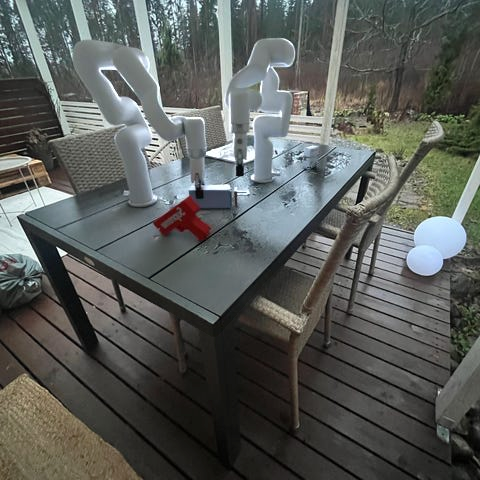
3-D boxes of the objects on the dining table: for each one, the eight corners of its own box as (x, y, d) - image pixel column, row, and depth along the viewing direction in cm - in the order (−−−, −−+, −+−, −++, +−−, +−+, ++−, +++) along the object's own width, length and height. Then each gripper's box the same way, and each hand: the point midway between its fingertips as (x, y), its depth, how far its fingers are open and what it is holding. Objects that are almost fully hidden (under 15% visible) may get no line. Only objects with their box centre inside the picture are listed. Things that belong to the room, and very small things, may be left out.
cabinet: (230, 203, 121) (229, 184, 116) (230, 209, 116) (229, 189, 111) (192, 204, 121) (190, 184, 116) (190, 209, 116) (188, 190, 111)
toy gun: (217, 229, 94) (190, 194, 90) (212, 235, 91) (184, 199, 87) (184, 248, 104) (159, 217, 100) (179, 254, 101) (152, 223, 97)
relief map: (243, 164, 168) (243, 156, 165) (202, 155, 186) (201, 147, 183) (266, 154, 186) (267, 146, 183) (227, 147, 204) (226, 140, 201)
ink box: (309, 164, 167) (312, 144, 161) (316, 166, 164) (319, 146, 158) (301, 167, 162) (304, 147, 156) (308, 169, 159) (311, 148, 153)
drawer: (249, 202, 120) (249, 186, 116) (249, 206, 116) (250, 191, 112) (201, 202, 120) (200, 187, 116) (200, 207, 116) (199, 191, 112)
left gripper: (190, 146, 113) (194, 187, 122) (183, 158, 98) (189, 204, 108) (208, 146, 113) (211, 187, 123) (204, 158, 98) (207, 204, 108)
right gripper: (250, 132, 95) (249, 179, 104) (248, 123, 110) (248, 165, 119) (229, 132, 95) (230, 179, 104) (230, 124, 109) (231, 165, 119)
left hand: (200, 195), depth 115 cm, fingers closed on cabinet, 5 cm apart
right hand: (239, 172), depth 111 cm, fingers open, 9 cm apart
